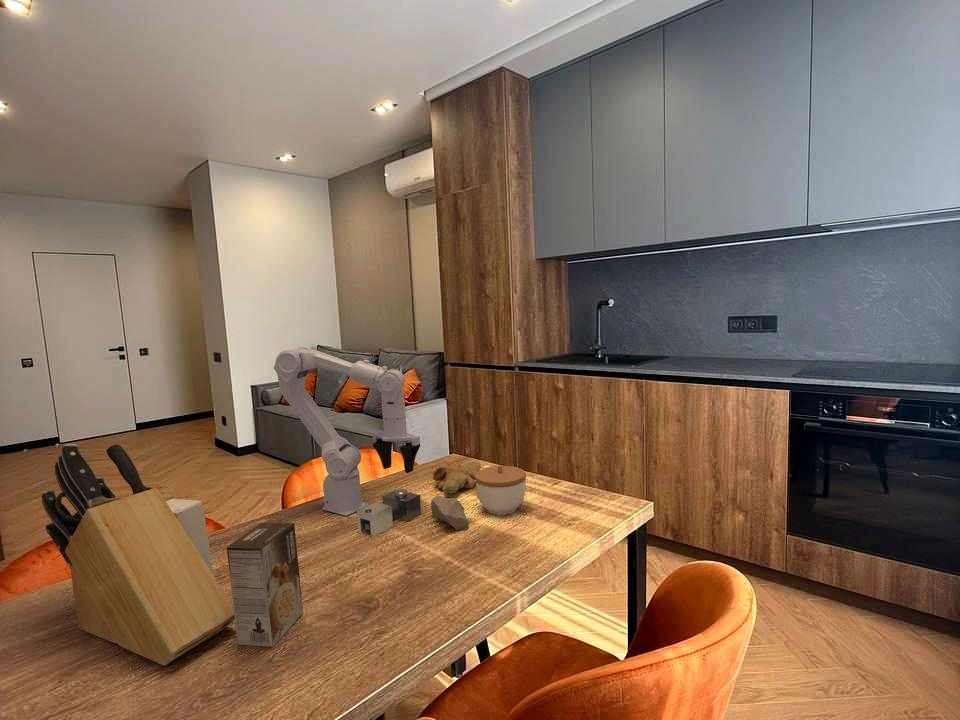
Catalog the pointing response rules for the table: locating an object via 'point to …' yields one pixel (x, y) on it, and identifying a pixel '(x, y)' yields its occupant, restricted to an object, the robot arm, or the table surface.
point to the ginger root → (455, 476)
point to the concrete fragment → (449, 511)
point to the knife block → (132, 563)
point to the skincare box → (193, 524)
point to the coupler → (402, 505)
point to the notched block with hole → (375, 518)
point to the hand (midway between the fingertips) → (398, 469)
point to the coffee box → (265, 583)
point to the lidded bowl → (501, 488)
